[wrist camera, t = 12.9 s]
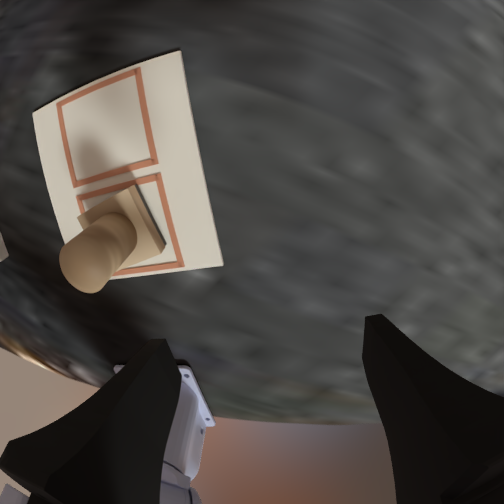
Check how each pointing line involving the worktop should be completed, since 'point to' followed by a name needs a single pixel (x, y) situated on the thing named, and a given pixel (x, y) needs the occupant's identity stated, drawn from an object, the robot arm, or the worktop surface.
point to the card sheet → (132, 159)
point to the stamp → (111, 240)
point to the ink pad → (2, 249)
